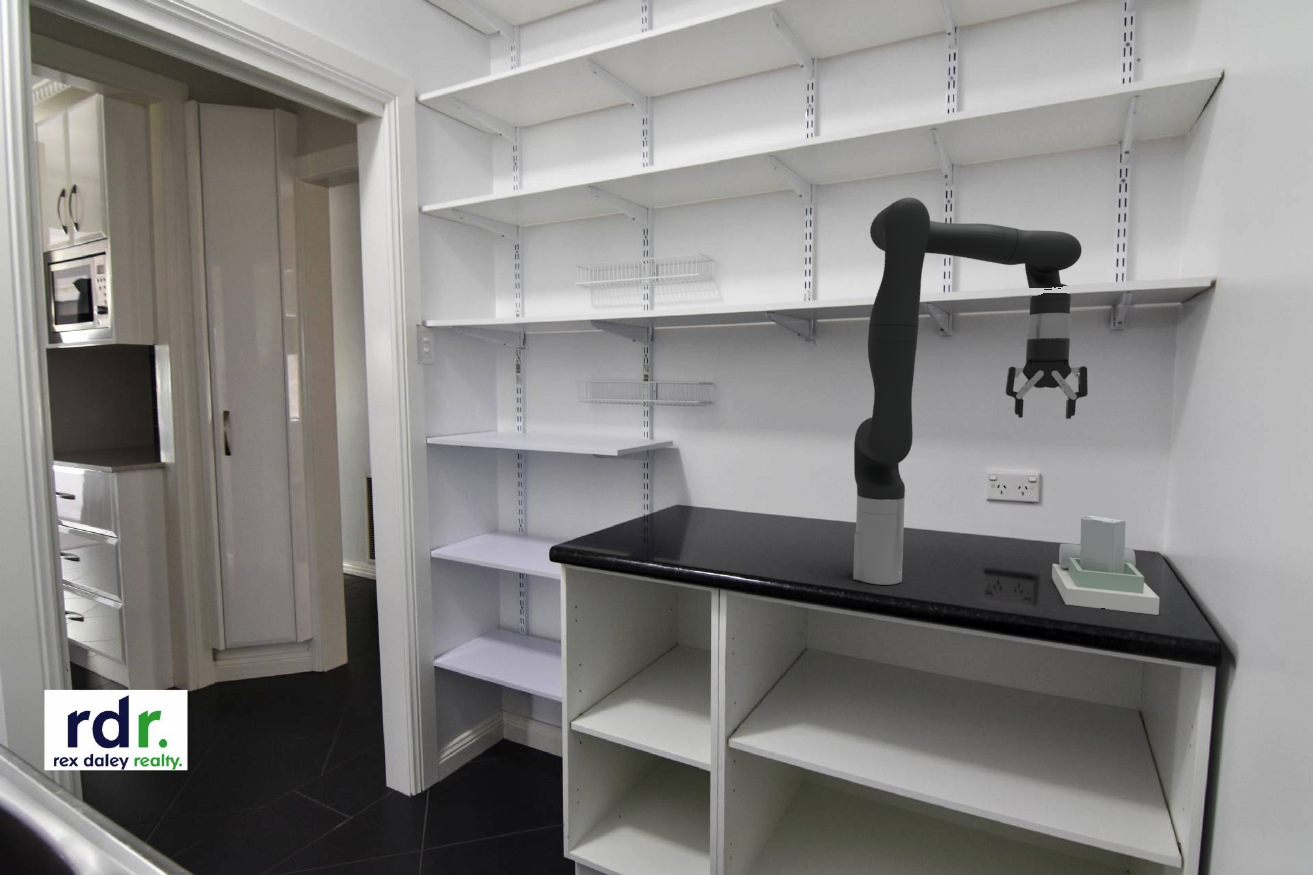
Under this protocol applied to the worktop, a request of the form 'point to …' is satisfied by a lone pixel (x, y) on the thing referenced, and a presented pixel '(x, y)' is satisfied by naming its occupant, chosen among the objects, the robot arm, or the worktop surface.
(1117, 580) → the green piece
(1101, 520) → the skincare box
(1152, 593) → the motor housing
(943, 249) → the robot arm
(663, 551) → the worktop surface
